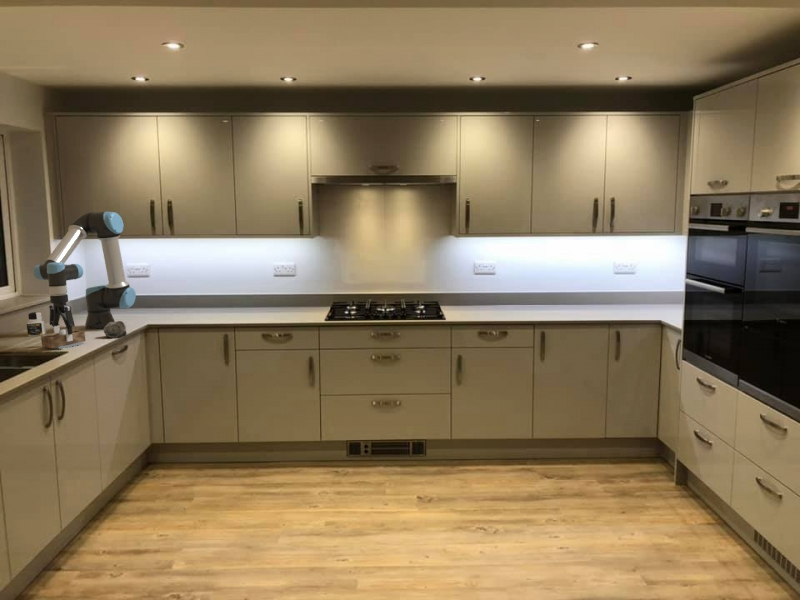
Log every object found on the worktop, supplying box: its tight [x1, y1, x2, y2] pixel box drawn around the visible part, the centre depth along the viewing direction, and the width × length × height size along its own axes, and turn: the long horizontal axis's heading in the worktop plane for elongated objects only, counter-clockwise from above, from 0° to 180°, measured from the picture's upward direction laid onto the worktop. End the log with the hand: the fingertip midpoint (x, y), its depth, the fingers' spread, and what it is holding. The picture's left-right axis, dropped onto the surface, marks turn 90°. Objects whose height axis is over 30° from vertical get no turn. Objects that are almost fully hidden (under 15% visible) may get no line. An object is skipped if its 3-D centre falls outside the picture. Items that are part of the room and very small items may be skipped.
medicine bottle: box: [26, 311, 47, 337], centre depth 326 cm, size 7×7×12 cm
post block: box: [53, 328, 84, 350], centre depth 297 cm, size 12×12×8 cm
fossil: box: [103, 320, 128, 339], centre depth 317 cm, size 11×9×10 cm
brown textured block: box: [40, 329, 86, 349], centre depth 297 cm, size 17×8×5 cm, turn 151°
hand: (63, 340), depth 297 cm, fingers open, 9 cm apart
